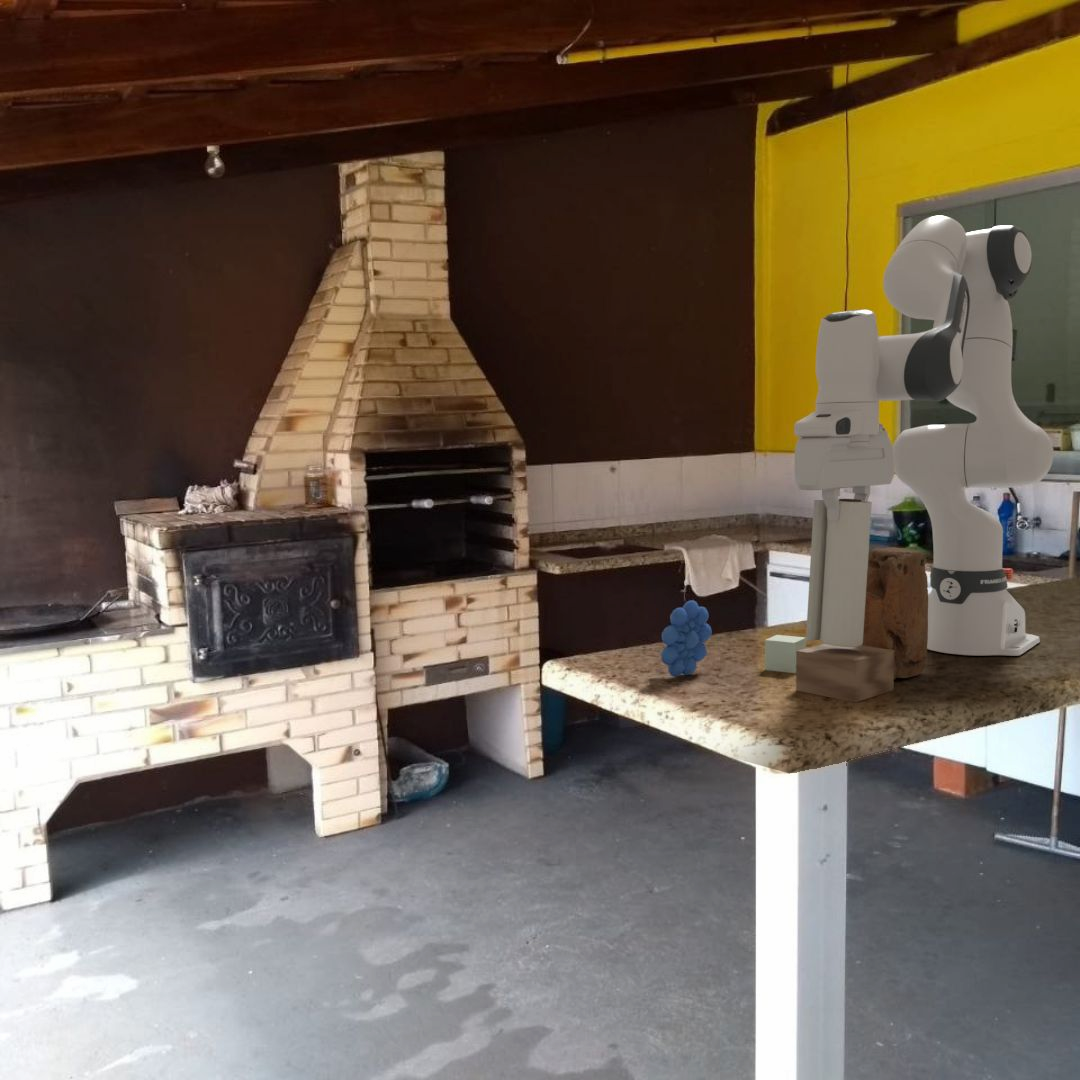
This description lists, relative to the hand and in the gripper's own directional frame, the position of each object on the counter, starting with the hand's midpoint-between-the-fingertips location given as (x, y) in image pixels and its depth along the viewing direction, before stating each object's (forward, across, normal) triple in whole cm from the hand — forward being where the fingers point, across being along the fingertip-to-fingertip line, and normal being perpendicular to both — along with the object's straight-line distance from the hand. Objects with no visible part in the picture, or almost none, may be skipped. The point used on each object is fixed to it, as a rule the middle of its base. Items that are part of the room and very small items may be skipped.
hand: (846, 518), depth 153 cm
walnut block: (+26, 0, 0) cm, 26 cm away
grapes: (+26, +9, -24) cm, 36 cm away
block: (+26, -13, 0) cm, 29 cm away
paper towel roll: (+19, +1, -1) cm, 19 cm away
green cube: (+26, -6, -15) cm, 30 cm away
